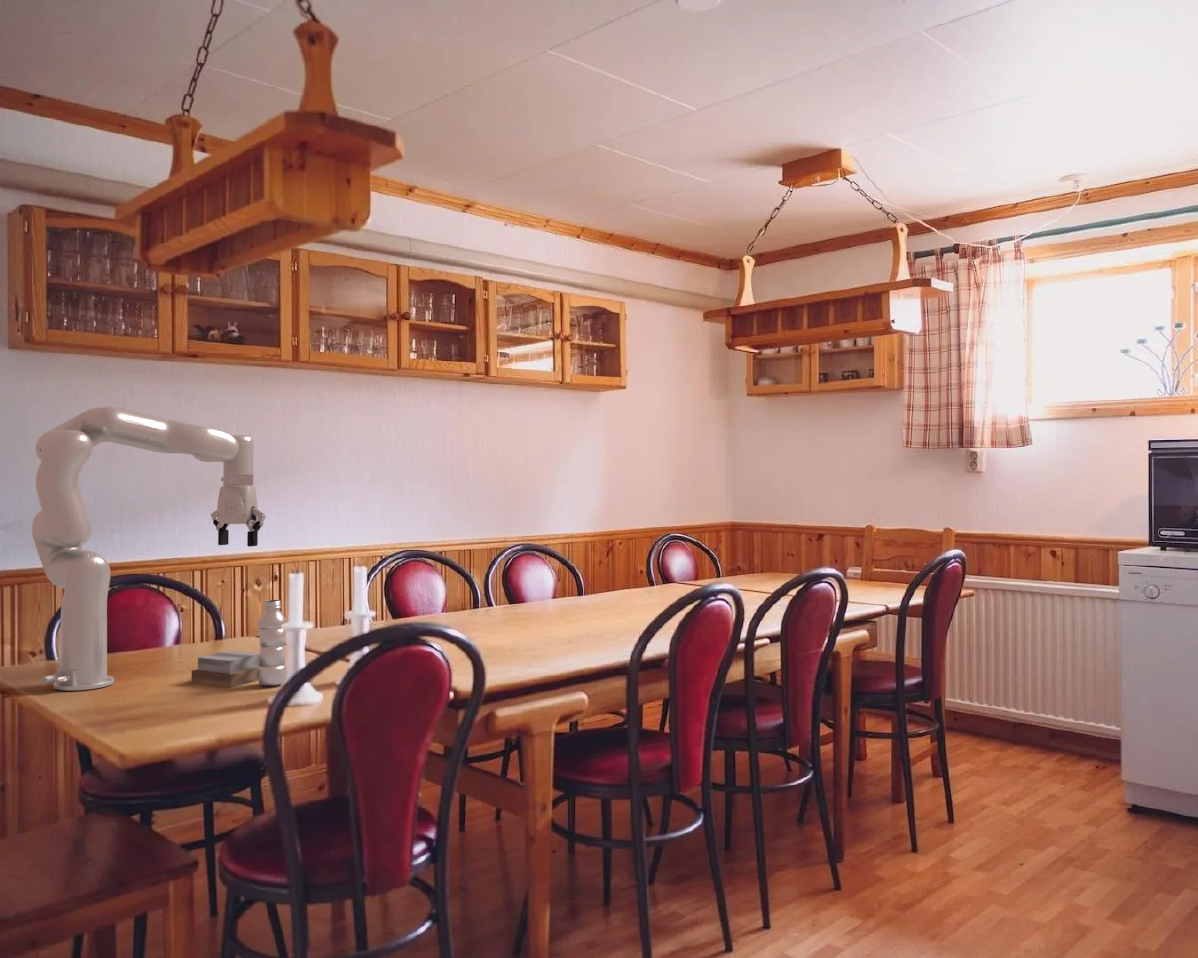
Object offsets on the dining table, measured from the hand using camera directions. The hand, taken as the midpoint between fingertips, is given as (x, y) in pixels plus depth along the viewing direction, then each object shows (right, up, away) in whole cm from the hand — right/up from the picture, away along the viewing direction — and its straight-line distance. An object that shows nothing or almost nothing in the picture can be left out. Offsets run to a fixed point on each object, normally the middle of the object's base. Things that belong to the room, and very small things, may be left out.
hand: (237, 545), depth 256 cm
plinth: (+7, -31, -24) cm, 40 cm away
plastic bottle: (+19, -31, -29) cm, 47 cm away
